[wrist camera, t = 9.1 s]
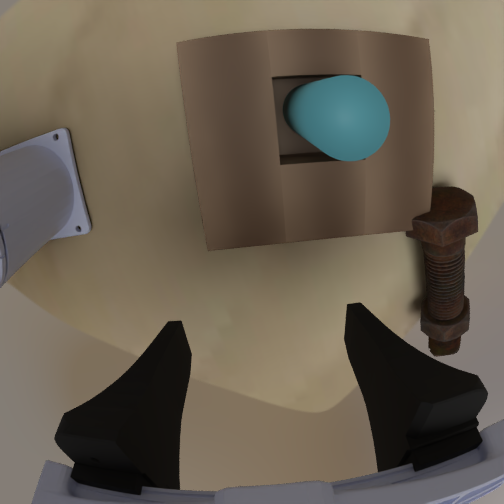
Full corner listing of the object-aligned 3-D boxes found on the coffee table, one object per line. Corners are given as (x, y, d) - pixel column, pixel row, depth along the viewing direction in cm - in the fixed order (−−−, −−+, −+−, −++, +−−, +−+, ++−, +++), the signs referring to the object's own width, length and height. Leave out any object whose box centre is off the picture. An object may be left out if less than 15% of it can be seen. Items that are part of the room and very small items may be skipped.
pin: (288, 141, 19) (314, 168, 12) (277, 88, 18) (297, 81, 10) (341, 132, 19) (395, 154, 12) (331, 80, 17) (382, 71, 10)
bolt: (422, 324, 29) (406, 187, 22) (469, 324, 26) (469, 181, 19) (415, 372, 25) (401, 228, 18) (467, 373, 22) (480, 223, 15)
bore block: (213, 227, 22) (207, 250, 19) (187, 51, 17) (176, 42, 14) (405, 209, 22) (428, 228, 19) (403, 45, 16) (428, 39, 13)
